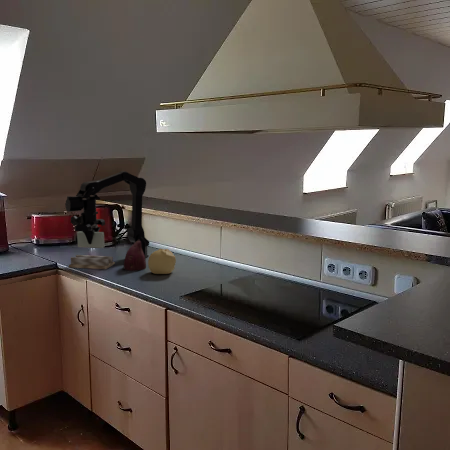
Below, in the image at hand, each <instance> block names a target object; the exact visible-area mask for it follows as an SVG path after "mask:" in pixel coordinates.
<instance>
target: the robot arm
mask: <svg viewBox="0 0 450 450" xmlns="http://www.w3.org/2000/svg"><path fill="white" fill-rule="evenodd" d="M120 182H124V183H126V184H127V185H129V186H128V187H129V190H130V193H131V196H132V199H131V201H132V202H131V206H132V207H131V225H130V227H129V228H128V227H127V229H126V231H127V232H126V233H127V234H126V237H127V239H128V240H129V241H130V244H131V246H132V245H133V244H134V243H135V242H136V241H138V240H140V242H141V247H142V251H143V253H144V255H145V259H147V258H149V257H150V255H149V254H148V247H149V245H150V241H149V240H148V239H147V238H146V235H145V231H144V228H143V225H142V224H143V222H142V220H143V196H144V193H145V191H146V188H147V181H146V180H145V178H143V177H138V176H136V175H134V174H131V173H130V172H128V171H125V170H121V171H119V172H117V173H114V174H112V175H109V176H106V177H103V178H101V179H97V180H89V181H84V182H82V183H81V185H80V189H79V190H78V192H77V194H76V195H74V196H72V195H71V196H69V195H67V196H66V201H65V203H64V205H65V206H64V207H65V210H66V212H67V213H70V212H71V213H72V212H81V211H82V212H81V213H80V216H76V215H73V216H70V224H72V226H73V227H74V232H79V231H82V232H83V233H84V234H85V236H86V238H87V241H88V243H89V244H91V243H92V239H93V235H94V232H100V230H101V228H102V227H103V226H106V221H105V219H103V218H97V217H98V216H97V215H99V211H97V201H99V200H101V197H100V196H99V195H97V194H99V192H101V190H103V189H105V188H107V187H111V186H113V185H115V184H117V183H120ZM99 225H100V226H99Z"/></svg>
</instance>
